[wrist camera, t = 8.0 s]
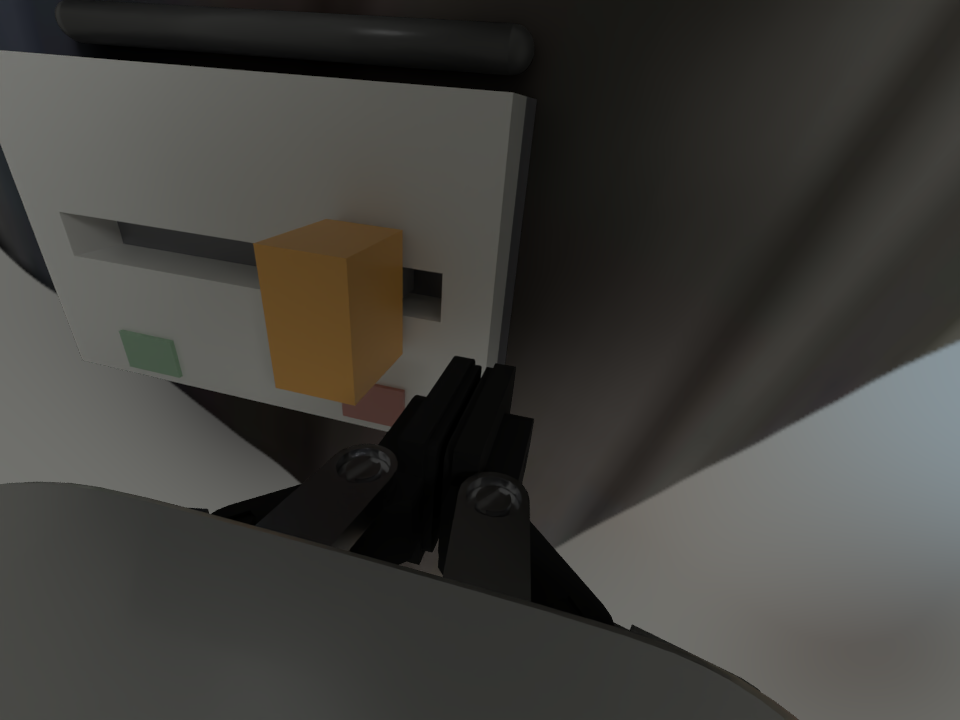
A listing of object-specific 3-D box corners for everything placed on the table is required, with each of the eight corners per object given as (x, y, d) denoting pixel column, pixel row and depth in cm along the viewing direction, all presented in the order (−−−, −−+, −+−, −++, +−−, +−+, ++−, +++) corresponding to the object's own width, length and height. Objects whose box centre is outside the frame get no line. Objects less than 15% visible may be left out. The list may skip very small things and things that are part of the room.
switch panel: (545, 28, 17) (521, -5, 13) (501, 395, 25) (476, 455, 20) (72, 3, 21) (-72, -30, 17) (161, 325, 29) (78, 362, 24)
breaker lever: (426, 217, 18) (346, 258, 13) (423, 330, 21) (355, 405, 15) (357, 208, 19) (253, 243, 13) (362, 319, 21) (275, 387, 16)
